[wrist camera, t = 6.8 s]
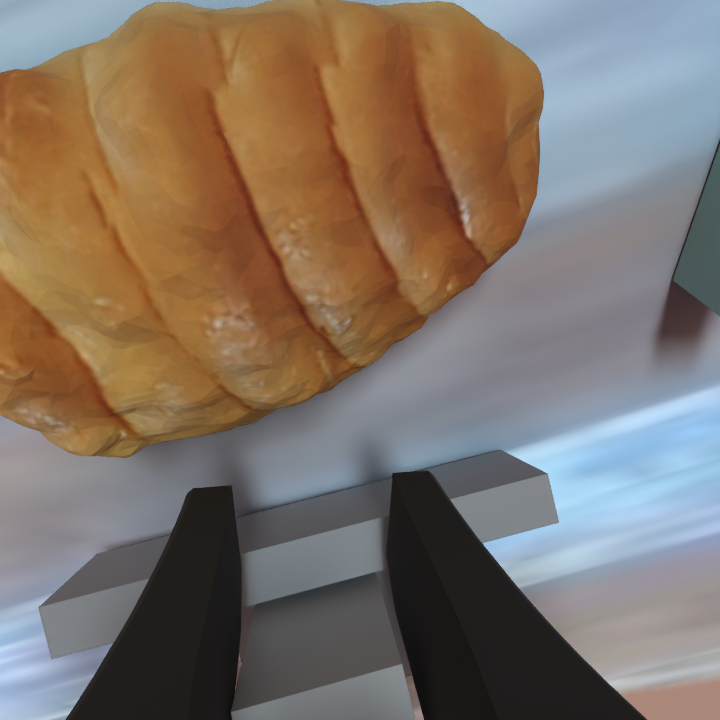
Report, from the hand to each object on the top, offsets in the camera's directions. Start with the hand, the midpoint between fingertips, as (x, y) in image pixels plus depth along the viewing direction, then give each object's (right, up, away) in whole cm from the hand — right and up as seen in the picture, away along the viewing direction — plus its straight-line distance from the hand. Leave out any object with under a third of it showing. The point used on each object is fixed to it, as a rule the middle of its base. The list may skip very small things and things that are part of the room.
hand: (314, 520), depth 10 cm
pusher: (0, -3, +4) cm, 5 cm away
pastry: (-2, +6, +1) cm, 6 cm away
